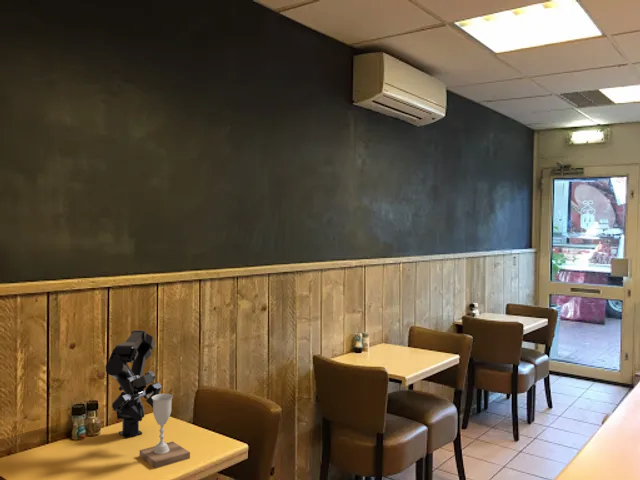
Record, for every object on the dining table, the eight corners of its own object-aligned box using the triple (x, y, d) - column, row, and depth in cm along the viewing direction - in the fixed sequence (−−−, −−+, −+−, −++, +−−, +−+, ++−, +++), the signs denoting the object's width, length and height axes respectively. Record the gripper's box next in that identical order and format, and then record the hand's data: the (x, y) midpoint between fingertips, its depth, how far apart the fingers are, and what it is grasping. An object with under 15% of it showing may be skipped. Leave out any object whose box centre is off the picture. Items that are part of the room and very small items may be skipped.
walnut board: (139, 456, 182) (139, 450, 182) (172, 447, 191) (172, 441, 191) (155, 468, 174) (156, 461, 174) (189, 458, 182) (190, 452, 182)
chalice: (166, 456, 178) (167, 401, 178) (146, 454, 179) (147, 399, 179) (176, 447, 185) (176, 394, 185) (157, 445, 187) (158, 392, 186)
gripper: (119, 371, 178) (144, 410, 174) (158, 359, 195) (182, 394, 191) (100, 391, 182) (125, 430, 177) (140, 378, 199) (164, 413, 194)
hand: (151, 416), depth 185 cm, fingers open, 9 cm apart
